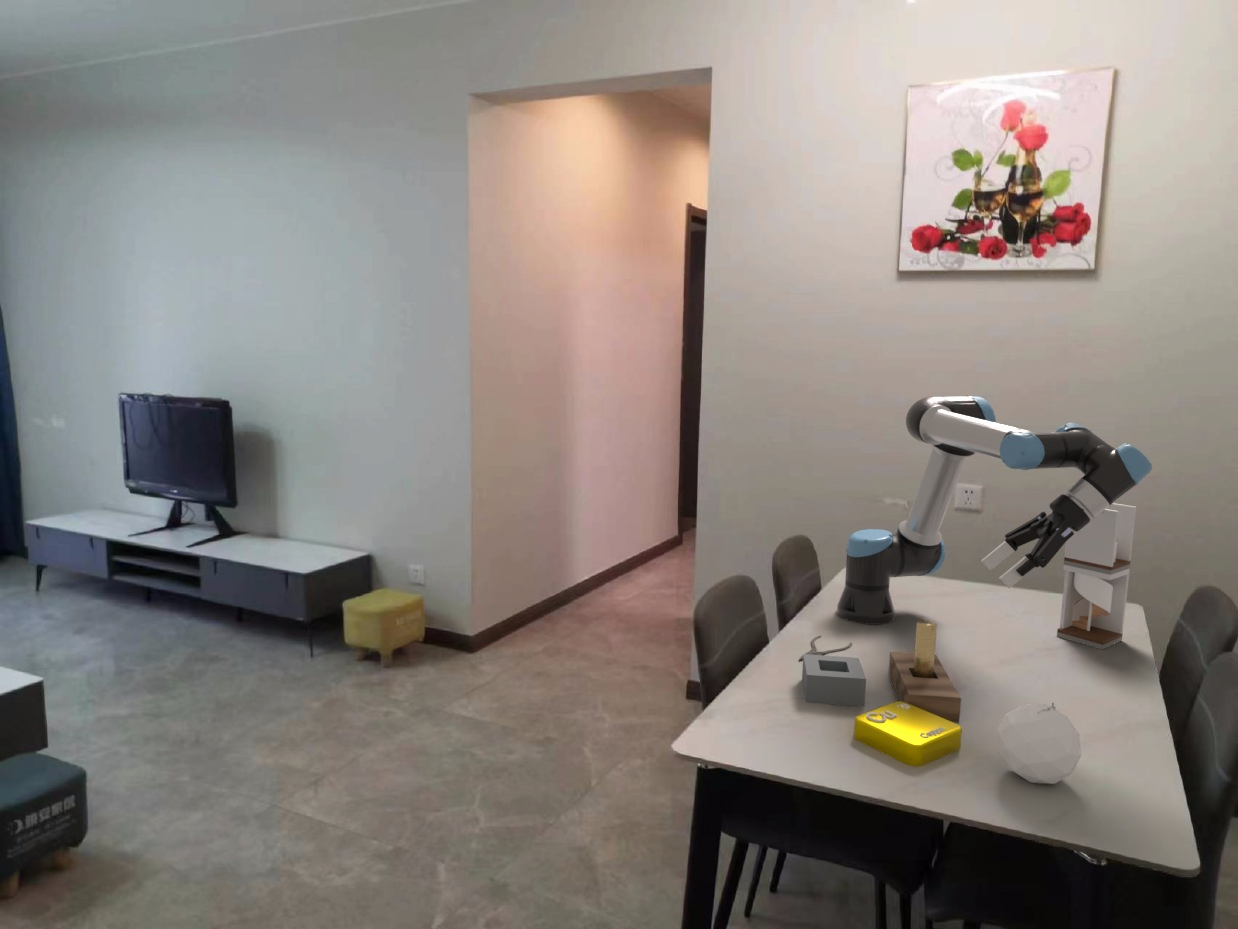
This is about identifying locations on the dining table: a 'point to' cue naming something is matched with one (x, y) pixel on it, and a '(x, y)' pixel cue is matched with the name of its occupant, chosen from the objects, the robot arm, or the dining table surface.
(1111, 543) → the spiral staircase model
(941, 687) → the beam
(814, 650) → the pliers
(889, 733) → the element tile
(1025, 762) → the geodesic sphere
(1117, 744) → the dining table surface
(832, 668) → the seat block
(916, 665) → the golden rounded rod
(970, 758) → the dining table surface
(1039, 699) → the dining table surface
